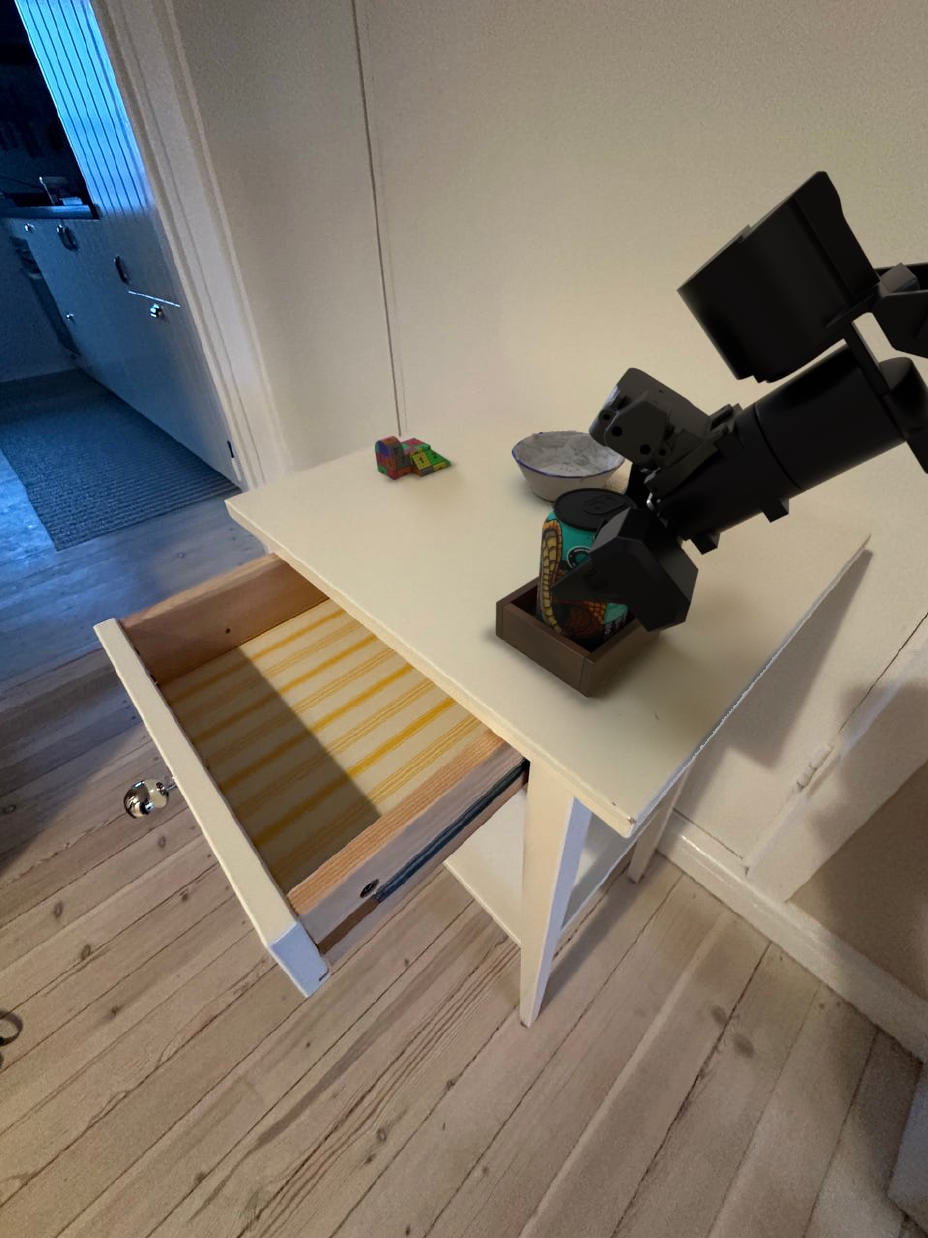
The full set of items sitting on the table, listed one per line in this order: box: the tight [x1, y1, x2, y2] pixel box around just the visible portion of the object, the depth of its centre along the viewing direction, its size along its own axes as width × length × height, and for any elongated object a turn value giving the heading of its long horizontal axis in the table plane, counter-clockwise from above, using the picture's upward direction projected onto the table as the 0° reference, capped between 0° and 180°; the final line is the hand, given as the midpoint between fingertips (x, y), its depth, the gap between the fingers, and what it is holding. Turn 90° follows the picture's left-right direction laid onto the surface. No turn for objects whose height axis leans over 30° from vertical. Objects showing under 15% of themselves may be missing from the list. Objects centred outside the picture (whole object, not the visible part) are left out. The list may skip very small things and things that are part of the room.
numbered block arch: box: [374, 435, 452, 480], centre depth 68 cm, size 8×5×4 cm
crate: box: [495, 575, 661, 697], centre depth 43 cm, size 10×10×4 cm
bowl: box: [511, 429, 626, 502], centre depth 63 cm, size 13×13×5 cm
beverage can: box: [535, 487, 638, 653], centre depth 40 cm, size 7×7×12 cm
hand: (568, 566), depth 40 cm, fingers closed on beverage can, 7 cm apart
